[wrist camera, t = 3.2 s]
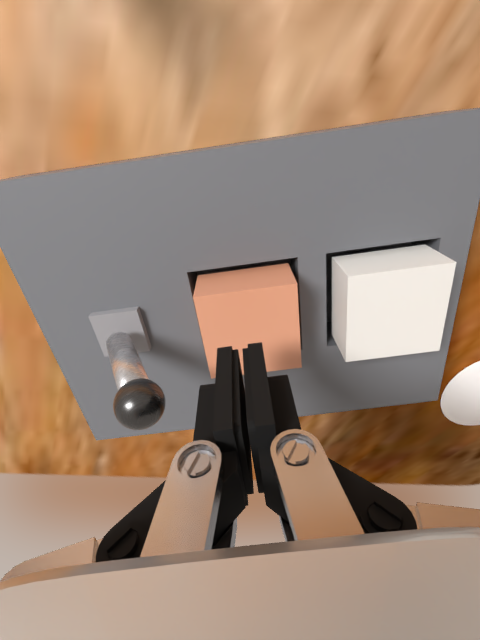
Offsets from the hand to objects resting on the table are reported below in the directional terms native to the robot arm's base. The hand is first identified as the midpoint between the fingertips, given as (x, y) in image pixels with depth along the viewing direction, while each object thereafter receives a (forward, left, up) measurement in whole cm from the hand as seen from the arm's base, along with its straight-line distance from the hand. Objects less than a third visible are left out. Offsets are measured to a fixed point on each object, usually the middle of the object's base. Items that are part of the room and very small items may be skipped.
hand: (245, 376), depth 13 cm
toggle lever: (+6, 0, -4) cm, 7 cm away
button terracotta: (0, 0, -5) cm, 5 cm away
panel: (0, 0, -8) cm, 8 cm away
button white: (-7, 0, -5) cm, 9 cm away
